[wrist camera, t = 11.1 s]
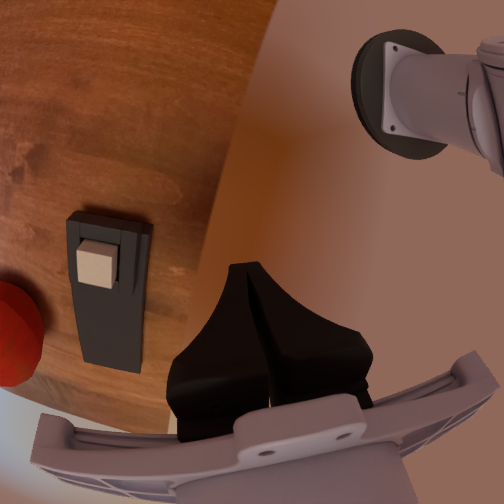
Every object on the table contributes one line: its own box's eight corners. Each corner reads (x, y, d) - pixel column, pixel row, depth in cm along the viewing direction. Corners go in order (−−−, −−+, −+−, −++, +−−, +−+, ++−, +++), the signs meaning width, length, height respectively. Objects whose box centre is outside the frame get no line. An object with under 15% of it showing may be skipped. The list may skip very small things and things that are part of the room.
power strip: (76, 200, 20) (58, 218, 17) (154, 214, 22) (146, 234, 19) (87, 349, 28) (80, 372, 25) (142, 361, 30) (138, 385, 27)
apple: (-7, 312, 24) (-43, 378, 14) (-12, 251, 20) (-68, 321, 10) (54, 344, 27) (27, 421, 18) (58, 289, 24) (14, 378, 14)
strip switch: (84, 238, 18) (76, 249, 17) (118, 244, 19) (111, 257, 18) (85, 268, 20) (78, 281, 18) (117, 275, 20) (111, 289, 19)
